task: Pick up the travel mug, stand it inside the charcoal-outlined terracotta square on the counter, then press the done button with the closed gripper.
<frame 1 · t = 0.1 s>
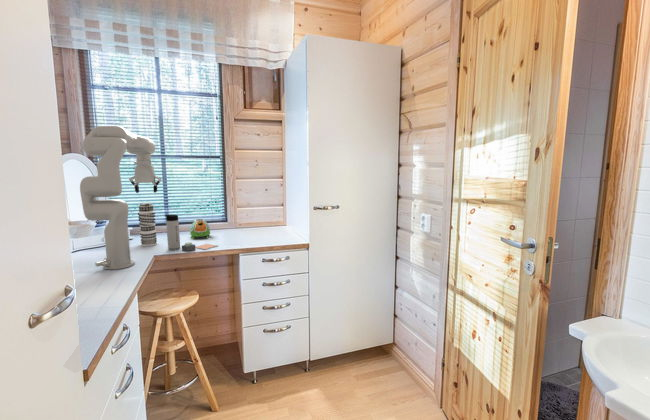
hand: (146, 192, 198), 31 cm above the table, tool pointing down, fingers open, 9 cm apart
button base: (188, 250, 186), on the table
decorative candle: (149, 244, 201), on the table
turtle holder: (200, 237, 221), on the table
picture square: (205, 247, 194), on the table
done button: (188, 244, 186), point 3 cm above the table, slide at 0.0 cm
travel mug: (174, 249, 190), on the table
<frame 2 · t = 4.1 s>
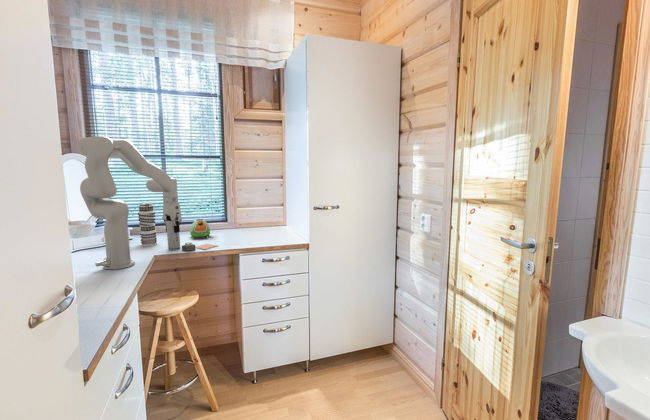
hand: (172, 231, 188), 10 cm above the table, tool pointing down, fingers closed on travel mug, 6 cm apart
travel mug: (174, 249, 190), on the table, touching gripper
everything else where it was.
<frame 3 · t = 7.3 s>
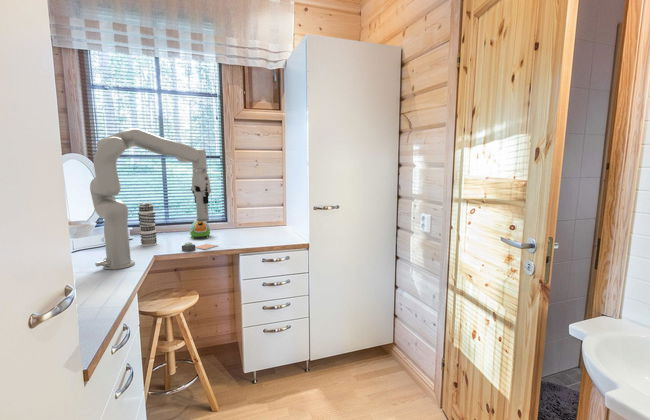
hand: (201, 202, 190), 26 cm above the table, tool pointing down, fingers closed on travel mug, 6 cm apart
travel mug: (202, 220, 192), point 15 cm above the table, touching gripper
everything else where it was.
when the fingers open (12 cm above the table, at t = 10.5 s): travel mug drops 1 cm, resting on picture square.
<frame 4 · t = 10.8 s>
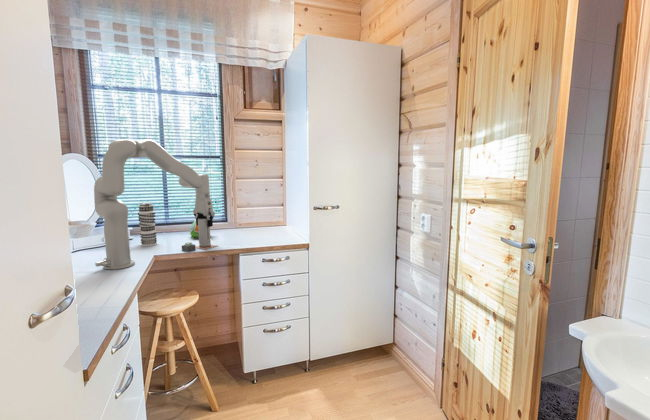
hand: (204, 225, 192), 12 cm above the table, tool pointing down, fingers open, 9 cm apart
travel mug: (204, 246, 194), resting on picture square
everything else where it was.
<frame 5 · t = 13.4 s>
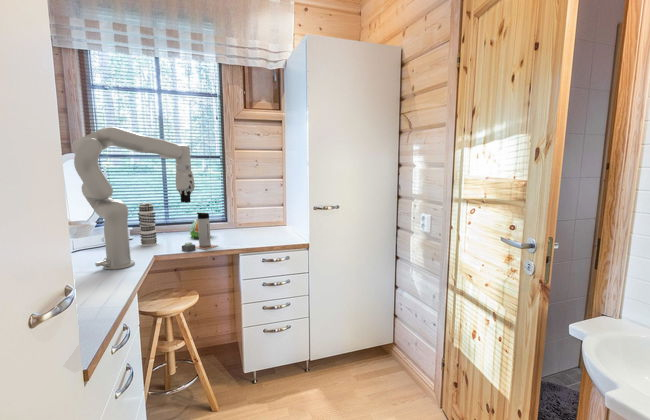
hand: (185, 202, 183), 27 cm above the table, tool pointing down, fingers closed
nothing on the table moved.
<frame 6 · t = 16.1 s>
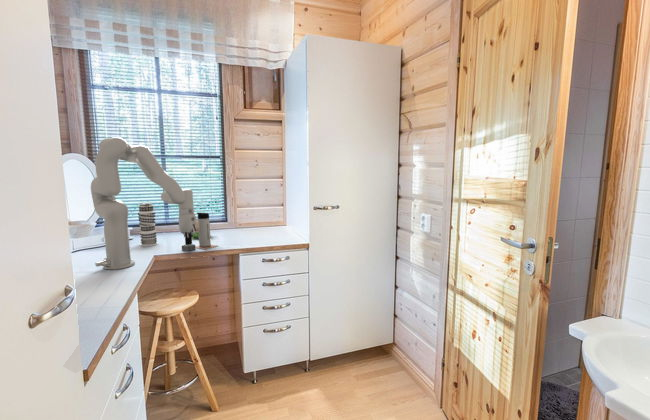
hand: (188, 244, 186), 4 cm above the table, tool pointing down, fingers closed
done button: (188, 245, 186), point 3 cm above the table, slide at 0.6 cm, touching gripper
everything else where it was.
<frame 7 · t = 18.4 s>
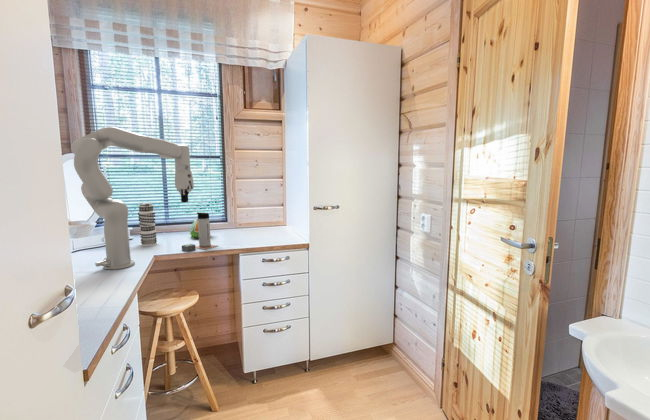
hand: (184, 202, 183), 27 cm above the table, tool pointing down, fingers closed
done button: (188, 246, 186), point 2 cm above the table, slide at 1.0 cm
everything else where it was.
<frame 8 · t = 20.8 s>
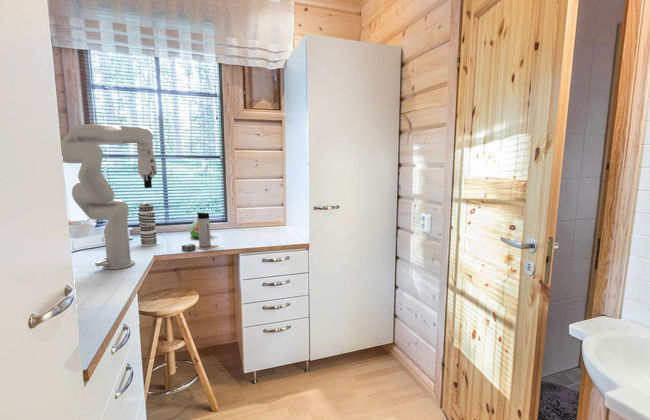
hand: (148, 187, 181), 35 cm above the table, tool pointing down, fingers closed
nothing on the table moved.
at the end: travel mug inside the target area (0.4 cm from its centre), resting on picture square; travel mug tilted 0°; done button slide at 1.0 cm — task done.
